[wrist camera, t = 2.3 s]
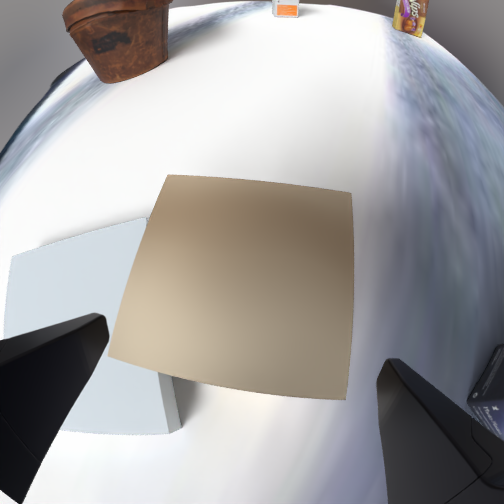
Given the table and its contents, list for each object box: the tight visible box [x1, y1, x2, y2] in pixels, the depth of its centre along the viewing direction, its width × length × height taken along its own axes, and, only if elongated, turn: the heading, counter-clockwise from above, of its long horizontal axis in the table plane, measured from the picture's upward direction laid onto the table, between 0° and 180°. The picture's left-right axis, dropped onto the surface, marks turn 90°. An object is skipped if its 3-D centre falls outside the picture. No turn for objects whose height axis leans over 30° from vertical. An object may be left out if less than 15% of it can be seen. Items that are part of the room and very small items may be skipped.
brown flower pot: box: [62, 0, 173, 83], centre depth 29 cm, size 18×20×18 cm
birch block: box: [107, 175, 354, 400], centre depth 11 cm, size 5×5×12 cm
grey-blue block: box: [4, 217, 182, 435], centre depth 16 cm, size 14×14×3 cm
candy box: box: [392, 0, 429, 38], centre depth 45 cm, size 9×4×15 cm, turn 80°
